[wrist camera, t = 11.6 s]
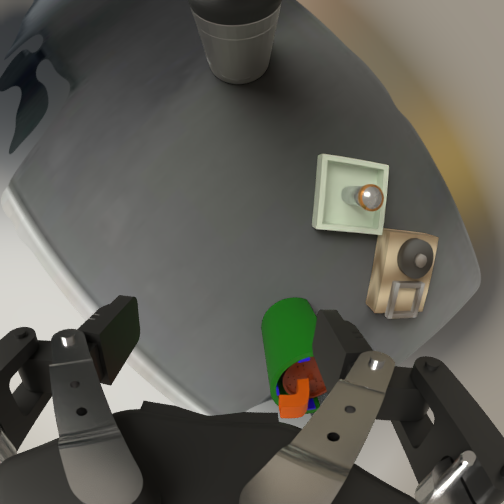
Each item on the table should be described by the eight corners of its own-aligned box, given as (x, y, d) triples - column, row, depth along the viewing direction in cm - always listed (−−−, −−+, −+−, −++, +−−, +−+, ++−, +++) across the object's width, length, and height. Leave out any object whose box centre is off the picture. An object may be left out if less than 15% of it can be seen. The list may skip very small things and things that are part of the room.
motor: (317, 344, 46) (352, 427, 27) (267, 355, 46) (278, 444, 27) (311, 293, 44) (353, 366, 24) (255, 304, 44) (263, 387, 24)
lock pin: (340, 182, 39) (361, 182, 31) (360, 185, 39) (384, 186, 32) (338, 204, 40) (358, 209, 32) (358, 207, 40) (382, 212, 32)
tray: (317, 155, 39) (322, 153, 36) (380, 166, 39) (389, 165, 36) (311, 226, 41) (316, 228, 38) (374, 232, 42) (382, 235, 39)
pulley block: (378, 227, 41) (399, 235, 35) (425, 233, 42) (448, 241, 35) (364, 305, 45) (381, 323, 38) (410, 305, 45) (429, 321, 38)
